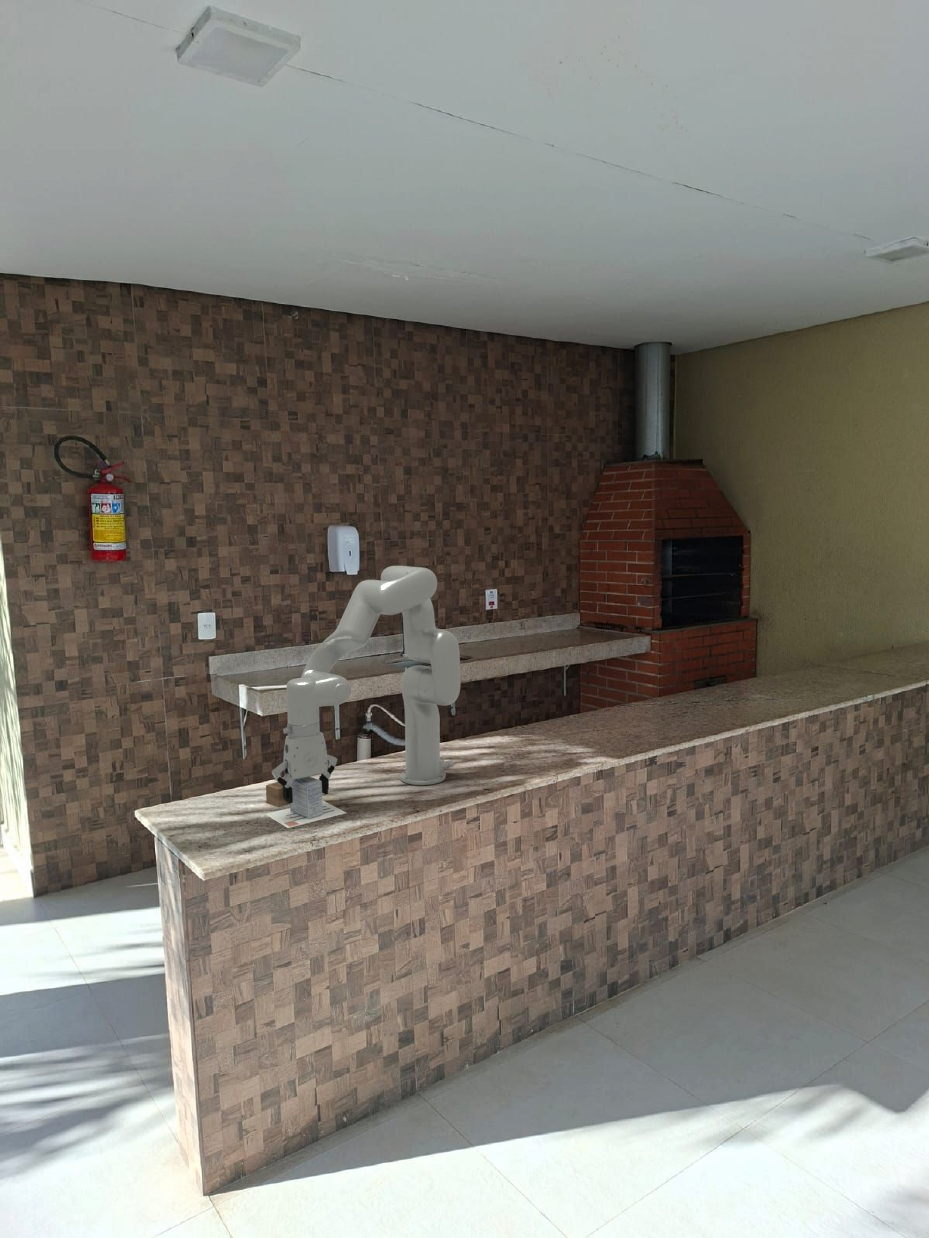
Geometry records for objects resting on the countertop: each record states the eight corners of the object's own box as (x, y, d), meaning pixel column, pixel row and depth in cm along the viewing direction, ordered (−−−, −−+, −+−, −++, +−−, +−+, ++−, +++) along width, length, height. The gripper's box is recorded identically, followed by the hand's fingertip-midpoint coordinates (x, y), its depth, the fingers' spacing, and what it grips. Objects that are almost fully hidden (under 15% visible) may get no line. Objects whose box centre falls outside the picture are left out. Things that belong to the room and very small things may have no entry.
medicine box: (323, 814, 213) (322, 780, 212) (308, 819, 210) (307, 784, 209) (304, 807, 219) (303, 773, 218) (289, 811, 216) (288, 777, 214)
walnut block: (282, 799, 226) (281, 780, 225) (294, 803, 223) (294, 784, 222) (266, 804, 222) (265, 785, 222) (278, 808, 219) (278, 789, 218)
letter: (322, 801, 224) (322, 800, 224) (346, 814, 215) (346, 812, 215) (264, 815, 214) (264, 813, 214) (287, 829, 205) (287, 827, 205)
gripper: (278, 738, 203) (281, 809, 206) (342, 726, 214) (345, 793, 216) (264, 732, 209) (267, 801, 212) (327, 720, 220) (329, 786, 222)
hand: (306, 797), depth 214 cm, fingers open, 9 cm apart
